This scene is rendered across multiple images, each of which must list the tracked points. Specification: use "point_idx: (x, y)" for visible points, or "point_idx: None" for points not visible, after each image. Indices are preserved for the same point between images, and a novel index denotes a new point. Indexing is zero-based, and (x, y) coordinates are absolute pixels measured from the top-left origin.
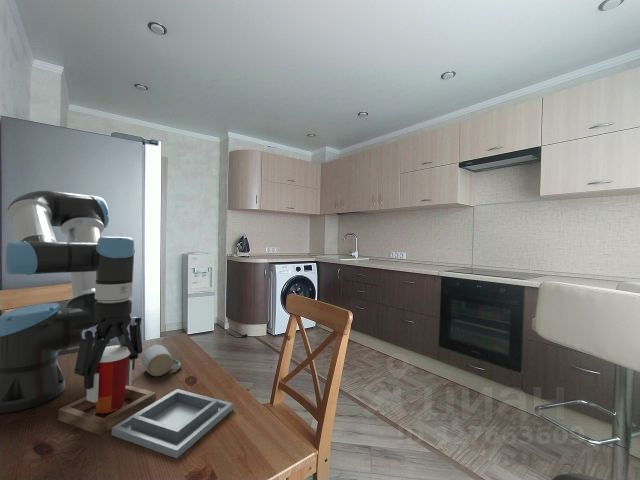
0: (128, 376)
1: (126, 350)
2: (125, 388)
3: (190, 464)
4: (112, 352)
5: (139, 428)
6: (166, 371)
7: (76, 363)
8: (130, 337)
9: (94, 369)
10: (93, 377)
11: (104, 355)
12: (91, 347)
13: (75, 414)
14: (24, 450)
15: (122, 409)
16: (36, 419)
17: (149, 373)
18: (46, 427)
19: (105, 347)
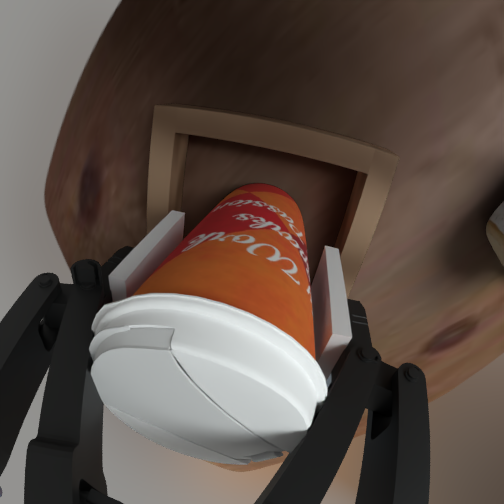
0: (313, 309)
1: (228, 463)
2: (349, 229)
3: None
4: (166, 431)
5: None
6: (501, 262)
7: (11, 312)
8: (394, 472)
9: None
10: None
11: (115, 411)
12: (15, 432)
13: (148, 195)
14: (73, 161)
15: None
16: (159, 37)
17: (490, 218)
18: (137, 110)
19: (101, 453)
